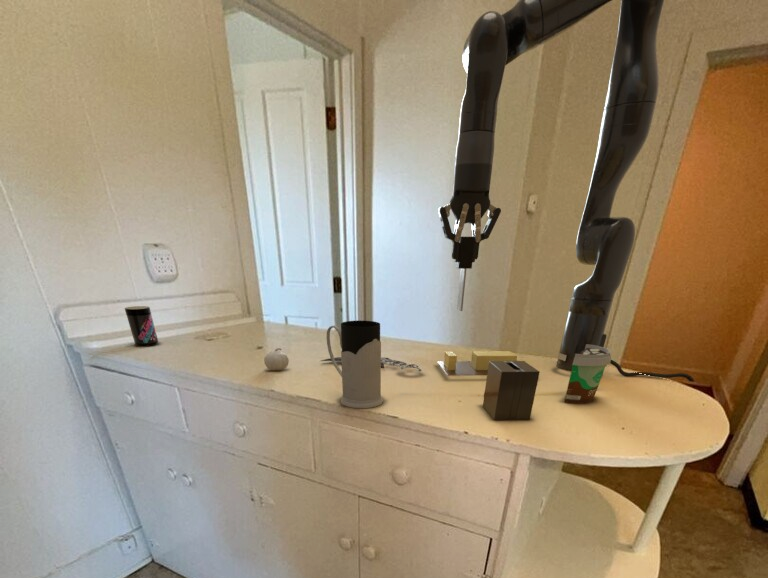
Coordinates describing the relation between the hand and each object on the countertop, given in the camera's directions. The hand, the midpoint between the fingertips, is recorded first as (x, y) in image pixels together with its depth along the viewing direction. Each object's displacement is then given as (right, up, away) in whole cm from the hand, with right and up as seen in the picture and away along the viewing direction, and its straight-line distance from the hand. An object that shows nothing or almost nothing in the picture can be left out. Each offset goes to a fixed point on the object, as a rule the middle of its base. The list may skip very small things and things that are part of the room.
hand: (464, 261), depth 95 cm
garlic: (-45, -20, +14) cm, 51 cm away
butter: (+10, -19, +13) cm, 25 cm away
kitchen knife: (0, -9, +6) cm, 10 cm away
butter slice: (-1, -20, +13) cm, 23 cm away
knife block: (+6, -37, -12) cm, 39 cm away
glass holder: (-25, -32, -5) cm, 41 cm away
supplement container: (-92, -4, +36) cm, 99 cm away
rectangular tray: (+8, -20, +14) cm, 26 cm away
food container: (+25, -32, -3) cm, 41 cm away
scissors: (-21, -18, +17) cm, 32 cm away
